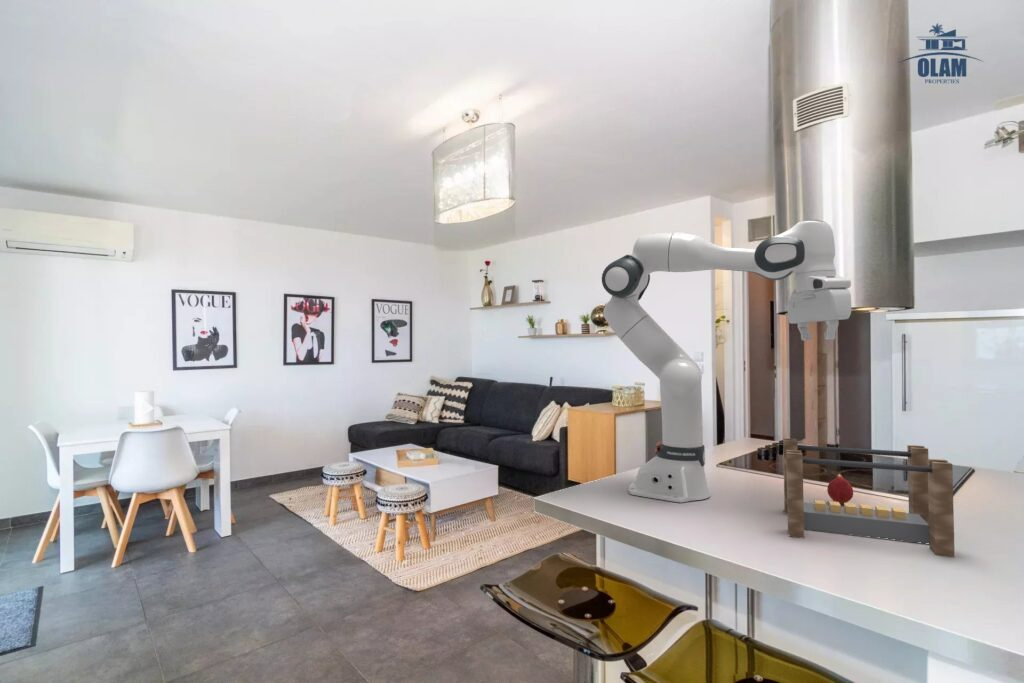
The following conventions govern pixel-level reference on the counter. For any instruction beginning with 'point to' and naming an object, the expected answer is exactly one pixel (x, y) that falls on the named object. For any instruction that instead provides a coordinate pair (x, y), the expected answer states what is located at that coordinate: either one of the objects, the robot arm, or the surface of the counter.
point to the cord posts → (924, 491)
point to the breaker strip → (865, 521)
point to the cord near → (868, 465)
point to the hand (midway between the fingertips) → (817, 339)
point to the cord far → (855, 450)
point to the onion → (840, 490)
